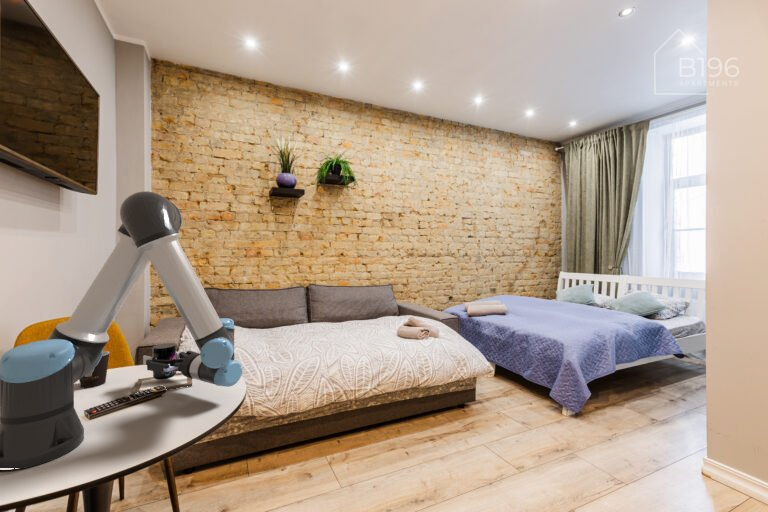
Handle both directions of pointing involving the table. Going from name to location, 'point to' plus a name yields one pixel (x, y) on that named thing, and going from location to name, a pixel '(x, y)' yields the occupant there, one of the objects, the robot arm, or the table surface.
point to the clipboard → (163, 383)
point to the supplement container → (164, 358)
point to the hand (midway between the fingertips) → (155, 356)
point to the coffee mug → (96, 373)
